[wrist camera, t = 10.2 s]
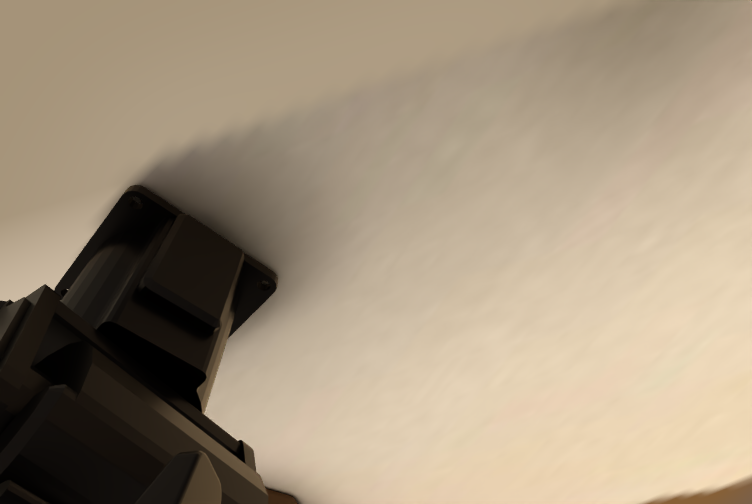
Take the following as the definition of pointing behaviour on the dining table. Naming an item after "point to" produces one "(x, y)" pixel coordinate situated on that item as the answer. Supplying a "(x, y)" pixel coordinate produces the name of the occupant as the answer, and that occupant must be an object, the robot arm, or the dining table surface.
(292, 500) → the beer bottle
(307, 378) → the dining table surface
